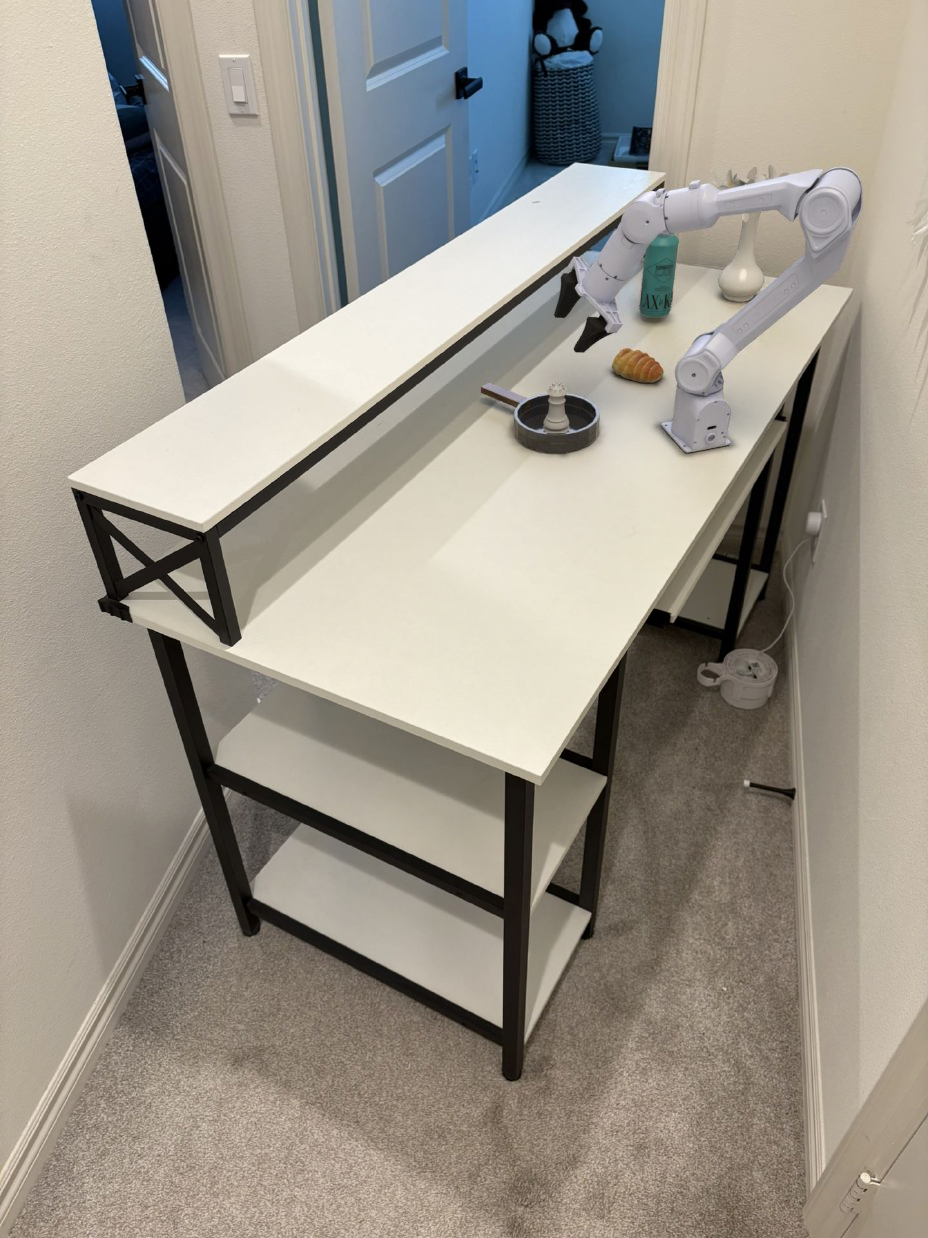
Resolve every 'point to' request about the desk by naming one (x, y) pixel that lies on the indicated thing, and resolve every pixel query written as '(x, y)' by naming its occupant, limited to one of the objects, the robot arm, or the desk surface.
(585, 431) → the pan
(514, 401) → the pan handle
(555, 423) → the rook chess piece
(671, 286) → the beverage bottle
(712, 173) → the flower vase
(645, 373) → the pastry
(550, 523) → the desk surface
